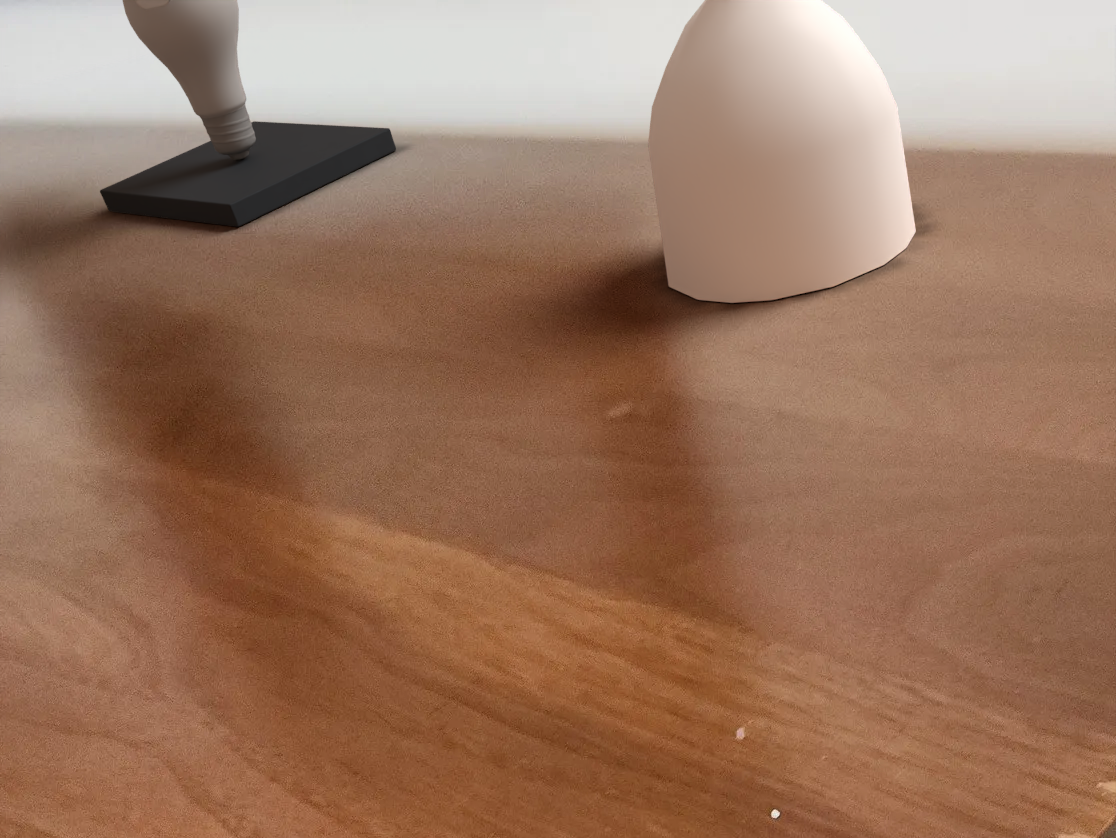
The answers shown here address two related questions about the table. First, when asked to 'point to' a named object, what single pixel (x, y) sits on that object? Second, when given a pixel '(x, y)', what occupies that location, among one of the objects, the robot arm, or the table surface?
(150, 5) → the robot arm
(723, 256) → the teardrop
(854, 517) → the table surface
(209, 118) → the lightbulb
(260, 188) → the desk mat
